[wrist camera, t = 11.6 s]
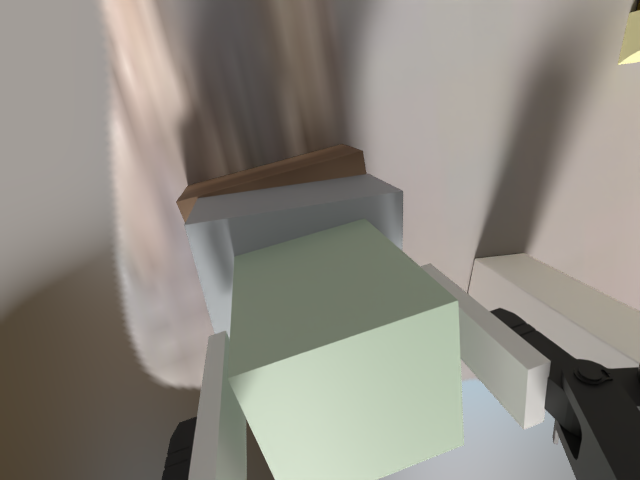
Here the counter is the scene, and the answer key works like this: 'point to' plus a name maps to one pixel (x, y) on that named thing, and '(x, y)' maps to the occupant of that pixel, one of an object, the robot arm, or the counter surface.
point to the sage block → (344, 356)
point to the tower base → (279, 174)
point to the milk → (560, 308)
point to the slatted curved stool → (631, 39)
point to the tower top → (280, 226)
